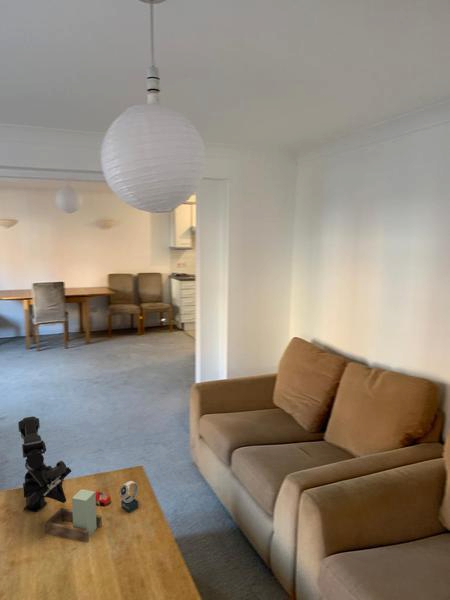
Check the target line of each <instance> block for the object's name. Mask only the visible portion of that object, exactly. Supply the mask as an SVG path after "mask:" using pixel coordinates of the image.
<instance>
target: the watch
mask: <svg viewBox="0 0 450 600" xmlns="http://www.w3.org/2000/svg"><path fill="white" fill-rule="evenodd" d="M131 485H134V487H133V490H132V493H131V495H130V491H131V490H130V489H131ZM118 493H119V497H120V499H121V501H120V503H121V509H123V510H125V511H126V512H128V513H132V512H134V511H135V510H138V509H139V501H138V500H137V499H136V497H137V495H138V493H139V485H138V483H137V482H135V481H133V480H129V481H126V482H125V483H124V484H122V485H121V486H120V488H119V491H118Z"/></svg>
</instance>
